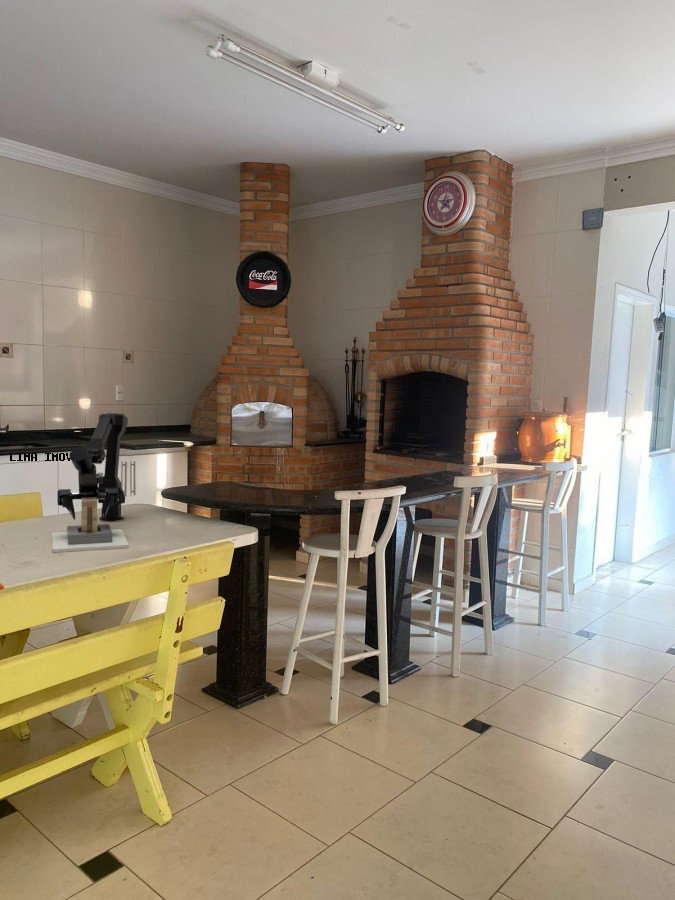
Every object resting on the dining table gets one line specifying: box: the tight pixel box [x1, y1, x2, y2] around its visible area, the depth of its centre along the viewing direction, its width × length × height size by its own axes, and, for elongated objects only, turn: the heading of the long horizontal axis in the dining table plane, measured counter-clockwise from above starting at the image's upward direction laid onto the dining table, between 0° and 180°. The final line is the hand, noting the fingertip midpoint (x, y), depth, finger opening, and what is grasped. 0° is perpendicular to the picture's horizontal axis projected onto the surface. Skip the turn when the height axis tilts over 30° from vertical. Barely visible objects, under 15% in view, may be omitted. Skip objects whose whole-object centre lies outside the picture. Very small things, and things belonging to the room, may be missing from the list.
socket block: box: [51, 523, 129, 553], centre depth 219 cm, size 22×22×4 cm
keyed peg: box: [81, 497, 98, 533], centre depth 218 cm, size 6×4×13 cm
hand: (89, 518), depth 217 cm, fingers open, 9 cm apart
